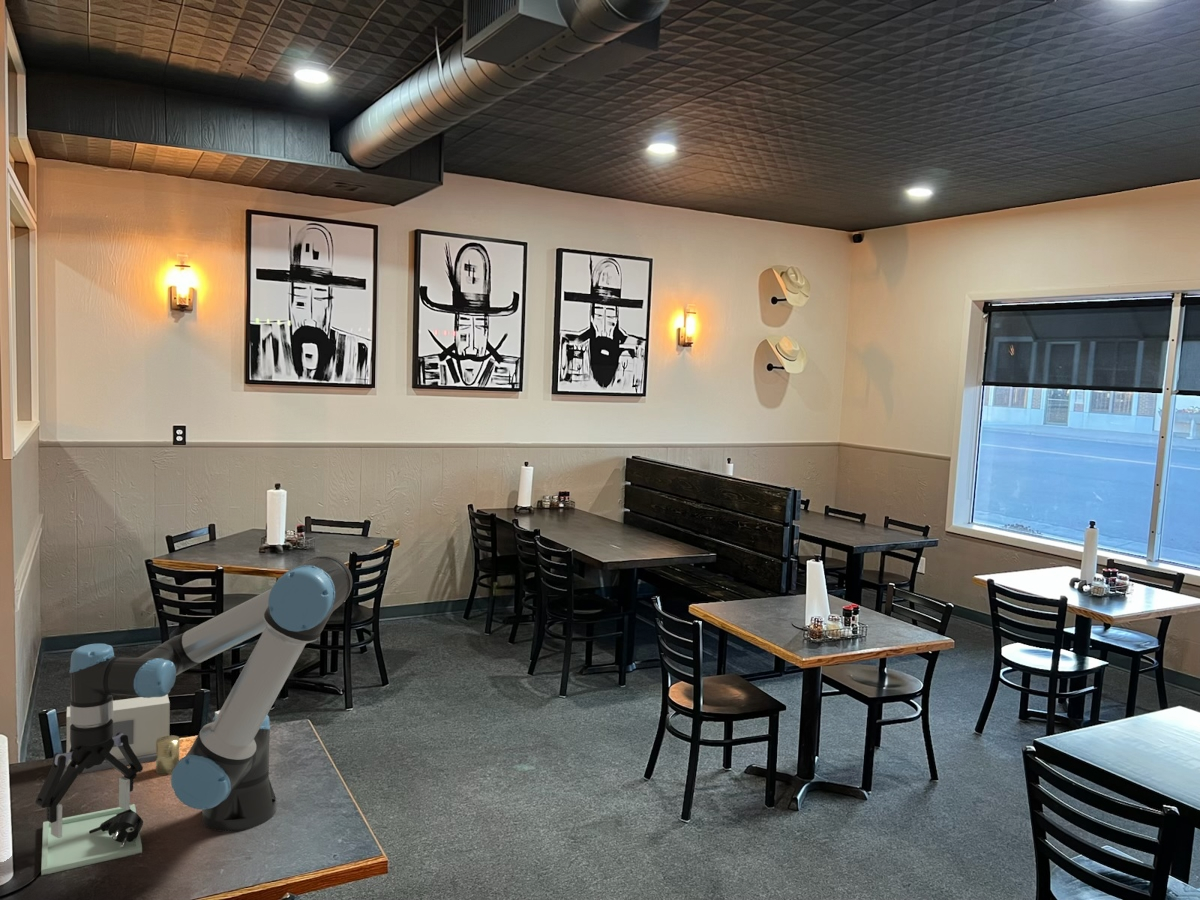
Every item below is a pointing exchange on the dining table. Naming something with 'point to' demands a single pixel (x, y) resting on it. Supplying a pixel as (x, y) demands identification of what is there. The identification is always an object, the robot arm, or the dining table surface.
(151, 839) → the dining table surface
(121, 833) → the power plug
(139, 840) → the tray
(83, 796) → the dining table surface
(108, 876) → the dining table surface
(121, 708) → the box
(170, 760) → the cylinder
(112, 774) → the dining table surface
